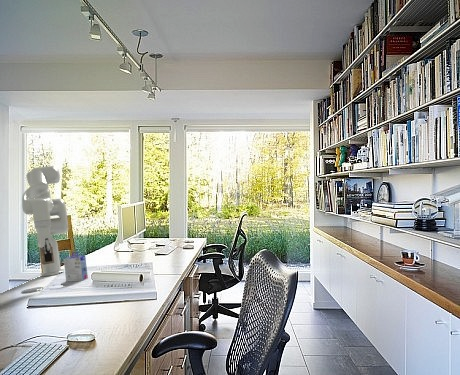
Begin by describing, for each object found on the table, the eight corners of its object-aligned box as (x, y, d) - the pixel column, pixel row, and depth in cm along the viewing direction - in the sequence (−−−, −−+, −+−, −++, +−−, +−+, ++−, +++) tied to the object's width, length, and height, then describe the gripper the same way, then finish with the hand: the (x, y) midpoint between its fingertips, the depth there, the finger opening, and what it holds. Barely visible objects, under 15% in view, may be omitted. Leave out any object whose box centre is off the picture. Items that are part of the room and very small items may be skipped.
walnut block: (41, 263, 226) (39, 247, 226) (52, 261, 229) (50, 245, 228) (43, 264, 222) (41, 248, 222) (54, 262, 225) (52, 246, 224)
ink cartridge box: (88, 278, 239) (85, 250, 238) (83, 280, 233) (79, 252, 233) (71, 279, 241) (68, 252, 240) (65, 282, 235) (62, 254, 235)
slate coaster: (19, 291, 225) (19, 290, 225) (41, 286, 230) (41, 286, 230) (23, 294, 217) (23, 293, 217) (45, 289, 222) (45, 289, 222)
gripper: (31, 224, 230) (36, 260, 231) (37, 226, 215) (42, 264, 216) (47, 222, 234) (51, 257, 235) (54, 223, 219) (59, 261, 220)
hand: (47, 260), depth 225 cm, fingers closed on walnut block, 5 cm apart
